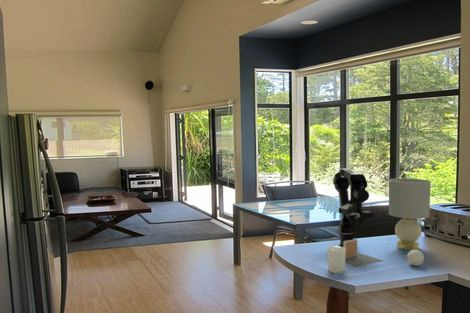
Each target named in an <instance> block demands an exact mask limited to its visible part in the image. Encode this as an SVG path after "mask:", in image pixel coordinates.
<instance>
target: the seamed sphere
mask: <svg viewBox="0 0 470 313" xmlns="http://www.w3.org/2000/svg"><path fill="white" fill-rule="evenodd" d="M406 258H407V259H406V260H407V261H408V263H409V264H410V265H411V266H414V267H419V266H421V265H422V264H423V263H424V262H425V256H424V254H423V252H422V251H420V250H419V249H417V250H409V251H408V253H407V255H406Z"/></svg>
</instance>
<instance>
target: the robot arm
mask: <svg viewBox="0 0 470 313" xmlns="http://www.w3.org/2000/svg"><path fill="white" fill-rule="evenodd" d="M332 184H333V185H334V189H335V190H336V191H337V192H338V198H339V204H340V206H339V208H338V213H339V214H341V220H340V222H339V226H338V228H337V235H338V236H340V241H339V242H340V243H339V244H338V246H339V247H343V242H344V241H347V240H354V239H355V238H354V237H357V233H358V232H357V231H359V229H360V228H361V226H362V224H363V223H364V221H365V219H373V218H374V216H375V215H374V212H373V211H370V210H364V208H363V203H365V202H366V201H368V200H369V198H370V194H369V191H367V190H366V188H368V181H367V179H366V176H365V174H364V173H363V172H354V170H351V168H340V169H339V171H338V172H337V173H335V174H334V176H333V179H332ZM349 188H350V190H349V191H350V194H349V193H348V189H349ZM349 196H350V198H349Z"/></svg>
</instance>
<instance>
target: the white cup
mask: <svg viewBox="0 0 470 313" xmlns="http://www.w3.org/2000/svg"><path fill="white" fill-rule="evenodd" d="M345 258H346V248H344V247H342V246H339V245H337V246H336V245H332V246H328V247H327V264H328V272H329V273H334V274H342V273H344V272H345V266H346V263H345Z"/></svg>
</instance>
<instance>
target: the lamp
mask: <svg viewBox="0 0 470 313" xmlns="http://www.w3.org/2000/svg"><path fill="white" fill-rule="evenodd" d="M388 183H389V185H388V186H389V187H388V190H389V192H388V194H389V195H388V215H390V216H392V217H395V218H396V217H397V218H402V219H400V220H398V222H396V225H395V227H394V231H395V235H396V237H397V238H398V239H399V240H397V241H396V247H397V249H401V250H406V251H411V250H419V248H420V243H419V242H418V240H419V239H420V237H421V236H422V227H421V225H420V223H419V222H418V221H417V220H416V219H418V220H419V219H421V220H422V219H427V218H429V217H430V207H431V185H432V184H431V181H430V180H428V179H423V178H422V179H419V178H409V177H408V178H402V177H401V178H400V177H399V178H397V177H396V178H390V179H389V182H388Z"/></svg>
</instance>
